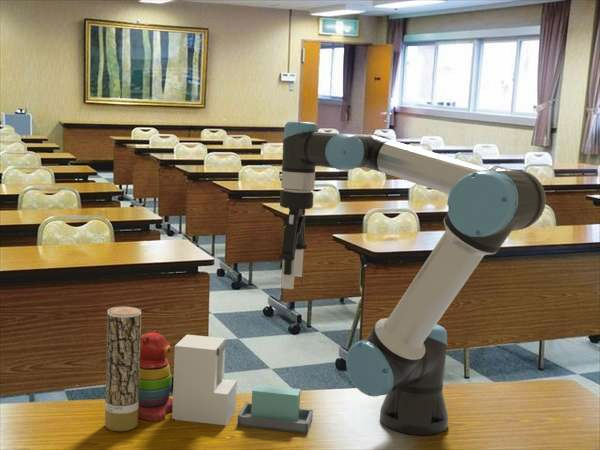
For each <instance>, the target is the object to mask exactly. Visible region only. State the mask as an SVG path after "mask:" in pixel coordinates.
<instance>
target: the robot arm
mask: <svg viewBox="0 0 600 450" xmlns="http://www.w3.org/2000/svg"><path fill="white" fill-rule="evenodd" d="M318 128H319V127H318V123H316V122H311V121H310V122H309V121H293V120H291V121H288V122H286V123H285V125H284V129H283V130H284V132H283V137H282V159H281V160H282V162H281V163H282V164H281V174H279V176H278V178H279V179H280V180H281V181H280V182H281V183H280V188H281V189H282V190H281V191H280V195H279V206H280V207H281V208H284V209H288V210H289V211H288V214H286V215H285V225H284V226H285V227H284V232H283V243H282V250H281V254H280V255H278V256H279V257H278V259H279V260H282V262H281V263H282V264H281V279H280V281H281V282H280V283H281V284H280V285H281V286H280V288H281V289H285V290H287V289H288V290H294V285H295V277H298V278H302V277H303V265H304V264H303V263H304V250H307V247H308V245H307V244H306V240H305V239H306V237H305V236H306V233H305V231H306V230H305V227H306V226H305V225H306V224H305V223H306V210H309V209H312V208H313V207H314V195H315V194H314V192H313V190H315V183H316V182H315V180H316V167H323V168H328V169H329V168H330V169H336V170H338V171H339V170H340V171H341V170H346V171H347V170H348V171H349V170H350V171H351V170H354V169H358V168H359V169H362V168H363V169H365V168H366V169H370V170H373V171H376V172H380V173H383V174H386V175H389V176H392V177H395V178H397V179H401V180H404V181H407V182H411V183H414V184H416V185H419V186H422V187H426V188H428V189H431V190H435V191H437V192H440V193H443V194H447V195H448V198H447V201H446V203H447V204H446V205H447V206H448V207H447V208H448V209H447V213H446V215H445V216H444V218H443V224H444V229H445V231H444V233H443V234H442V236H441V238H440V239H439V240H438V242H437V243H436V245H435V247H434V248H433V250H432V251H431V253H430V254H429V256H428V257H427V259H425V262H424V263H423V265H422V266H421V268H420V269H419V271H418V272H417V274H416V275H415V277H414V278H413V280H412V281H411V284H409V286H408V288H406V291H405V293H404V294H403V295H402V297H401V298H400V299H399V301H398V303H397V304H396V306H395V308H394V309H393V310H392V311H391V313H390V314H389V316H388V317H387V318H386V317H385V318H380V319H378V321H377V322H376V323H375V325H374V326H373V327H372V329H371V331H370V332H369V333H368V335H367V336H366V337H365V339H362V340H358V341H357V342H355V343H354V344H352V345H351V347H349V349H348V351H347V353H346V358H345V367H346V369H347V374H348V377H349V379H350V381H351V383H352V384H353V386H354V387H355V388H356V389H357V390H358V391H360V392H361V394H364V395H366V396H369V397H380V396H385V397H384V400H383V403H382V405H381V407H380V413H379V420H380V421H379V422H381V424H382V425H384V426H385V427H387V428H388V429H391V430H393V431H395V432H397V433H398V432H399V433H402V434H408V435H415V436H430V435H431V436H433V435H437V434H440V433H443V432H444V431H446V430H447V429H446V428H448V425H449V424H448V423H449V414H448V410H447V405H446V402H445V397H444V391H443V390H444V389H443V388H444V380H445V368H446V357H447V348H448V347H447V346H448V332H447V329H446V328H445V327H444V326H441V325H440V324H438V322H439V321H440V320H441V318H442V317H443V315H444V314H445V312H446V311H447V310H448V308H449V307H450V305H451V304H452V303H453V301H454V300H455V298H456V297H457V295H458V294H459V293H460V291H461V290H462V288H463V287H464V285H465V284H466V282H467V281H468V280H469V278H470V276H471V275H472V274H473V272H474V271H475V269H476V268H477V266H479V264H480V262H481V261H482V260H483V258H484V256H487V255H495V254H496V253H498V251H499V250H500V248H501V247H502V246H503V244H504V243H505V242H506V239H508V237H509V236H510V234H511V233H512V232H514V231H515V232H516V231H520V230H523V229H527V228H529V227H531V226H532V225H534V224H535V223H536V222H537V221H538V220H539V219H540V218H541V216H542V215H543V213H544V211H545V208H546V203H547V200H546V199H547V197H546V196H547V195H546V191H545V189H544V186H543V185H542V183H541V181H540V180H539V179H538V178H537V177H536V176H535V175H533V174H532V173H530V172H529V171H528V172H527V171H525V170H521V169H512V168H507V167H503V166H500V165H496V164H495V165H494V164H493V165H491V166H490V167H485V166H481V165H478V164H475V163H471V162H468V161H464V160H461V159H457V158H454V157H450V156H447V155H443V154H440V153H437V152H433V151H430V150H428V149H427V150H426V149H423V148H419V147H416V146H412V145H410V144H406V143H402V142H399V141H395V140H392V139H391V138H390V137H388V136H387V135H382V134H378V133H373V134H362V133H361V134H358V133H344V132H343V133H339V132H338V133H335V132H320V131H318Z"/></svg>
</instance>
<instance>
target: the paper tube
mask: <svg viewBox="0 0 600 450" xmlns="http://www.w3.org/2000/svg"><path fill="white" fill-rule="evenodd" d="M106 316H107V317H106V319H107V320H106V358H105V359H106V360H105V394H104V395H105V396H104V397H105V398H104V399H105V401H104V402H105V403H104V404H105V406H104V425H105V427H106V429H107V430H109V431H112V432H117V431H118V432H129V431H132V430H134V429H135V428H136V427H137V426H138V425H139V423H138V422H139V418H138V406H139V372H140V338H141V336H142V333H141V332H142V310H141V309H140V308H137V307H132V306H114V307H111V308H108V309H107V315H106Z"/></svg>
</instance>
